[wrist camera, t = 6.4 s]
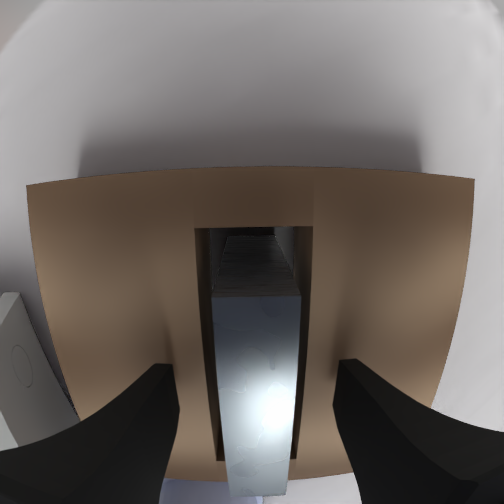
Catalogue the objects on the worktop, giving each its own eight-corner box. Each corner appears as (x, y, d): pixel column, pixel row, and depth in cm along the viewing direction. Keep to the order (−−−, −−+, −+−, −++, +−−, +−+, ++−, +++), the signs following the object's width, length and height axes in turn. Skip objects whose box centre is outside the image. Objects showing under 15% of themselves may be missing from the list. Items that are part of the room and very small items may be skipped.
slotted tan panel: (385, 415, 17) (408, 460, 13) (122, 421, 16) (102, 467, 13) (423, 174, 13) (474, 178, 9) (76, 179, 13) (26, 185, 9)
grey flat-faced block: (272, 387, 16) (285, 494, 9) (234, 387, 16) (229, 496, 9) (274, 235, 14) (301, 295, 7) (228, 236, 14) (211, 297, 7)
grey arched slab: (-28, 298, 15) (-110, 367, 5) (26, 280, 16) (-48, 352, 7) (74, 479, 19) (75, 574, 9) (123, 471, 20) (138, 571, 11)
